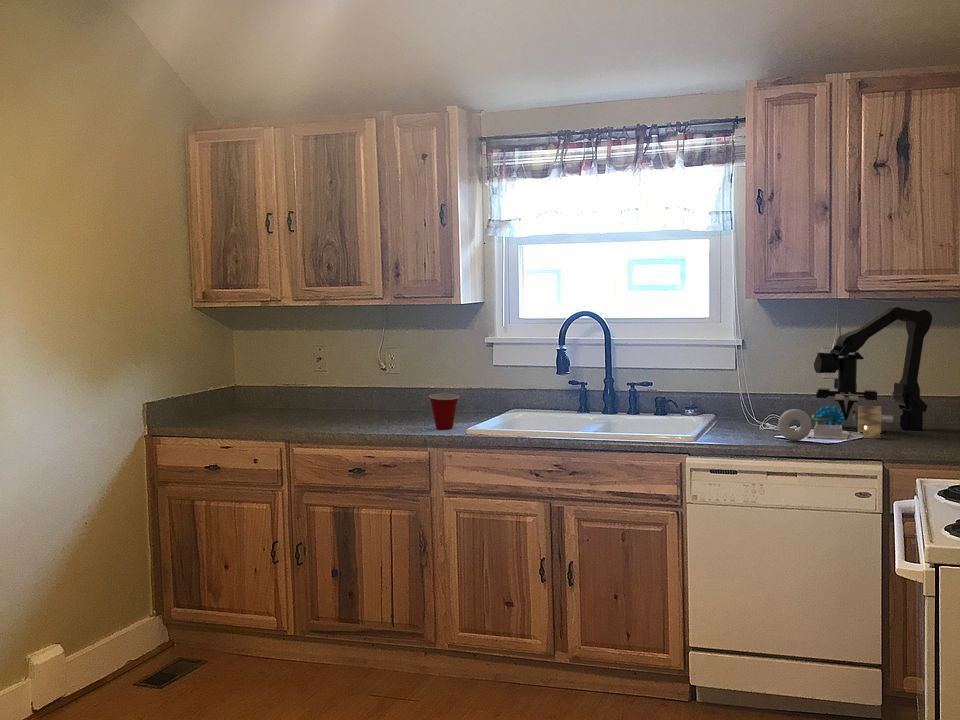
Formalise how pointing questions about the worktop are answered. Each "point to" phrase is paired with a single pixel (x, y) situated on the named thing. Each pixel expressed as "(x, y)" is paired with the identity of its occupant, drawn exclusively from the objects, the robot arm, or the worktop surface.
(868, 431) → the cylinder
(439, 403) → the plastic cup
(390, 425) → the worktop surface
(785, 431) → the donut
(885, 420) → the shaft
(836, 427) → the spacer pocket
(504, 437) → the worktop surface
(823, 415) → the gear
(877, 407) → the bearing block
